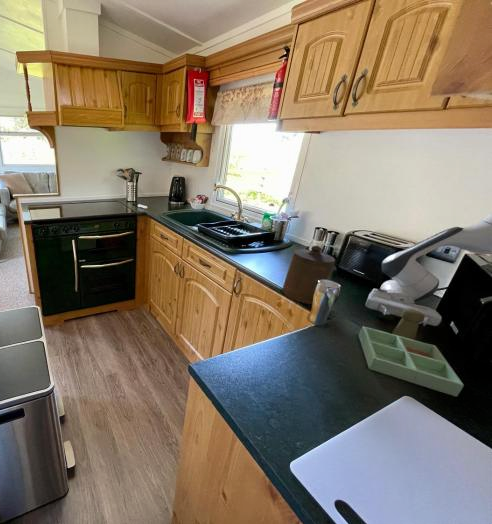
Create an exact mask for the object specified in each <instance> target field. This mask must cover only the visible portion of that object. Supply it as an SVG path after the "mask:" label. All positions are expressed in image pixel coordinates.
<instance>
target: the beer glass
mask: <svg viewBox="0 0 492 524" xmlns="http://www.w3.org/2000/svg"><path fill="white" fill-rule="evenodd" d="M341 289H342V285H341V284H340V283H338V282H336V281H334V280H329V279H328V280H325V279H321V280H319V281H318V284H317V286H316V288H315V291H314V294H313V301H312V304H311V308H310V312H309V314H308V315H307V317H306V320H307V321H308V322H309V323H310V324H313V325H315V326H318V327H325V326H327V323H328V317H329V314H330V313H331V311H332V310H333V308H334V307H335V305H336V303H337V301H338V299H339V295H340V291H341Z"/></svg>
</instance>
